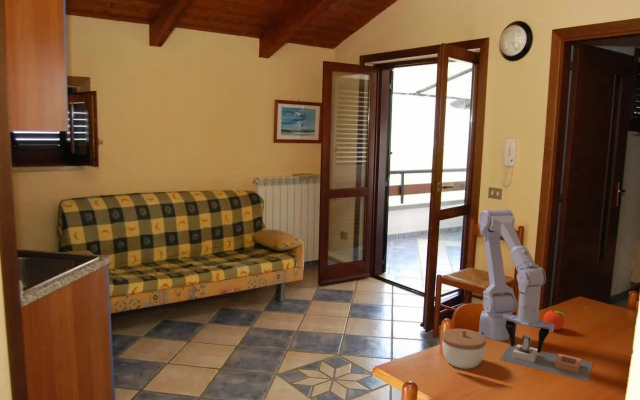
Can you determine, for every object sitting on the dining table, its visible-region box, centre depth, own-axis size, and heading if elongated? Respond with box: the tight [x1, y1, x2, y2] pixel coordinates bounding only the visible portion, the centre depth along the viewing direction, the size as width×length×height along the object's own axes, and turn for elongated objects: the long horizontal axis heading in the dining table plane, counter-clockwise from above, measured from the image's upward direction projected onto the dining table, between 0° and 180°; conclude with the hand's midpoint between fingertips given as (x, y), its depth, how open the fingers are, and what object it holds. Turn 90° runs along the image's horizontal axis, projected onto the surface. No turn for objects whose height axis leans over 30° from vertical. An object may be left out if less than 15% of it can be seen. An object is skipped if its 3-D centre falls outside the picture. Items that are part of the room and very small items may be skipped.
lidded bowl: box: [441, 328, 487, 372], centre depth 153 cm, size 13×13×11 cm
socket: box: [555, 353, 582, 373], centre depth 151 cm, size 6×6×2 cm
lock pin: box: [521, 334, 532, 354], centre depth 157 cm, size 2×2×6 cm
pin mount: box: [513, 343, 538, 363], centre depth 158 cm, size 6×6×2 cm
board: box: [499, 343, 594, 382], centre depth 155 cm, size 24×14×1 cm, turn 57°
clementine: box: [542, 309, 567, 331], centre depth 181 cm, size 8×7×7 cm
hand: (525, 348), depth 158 cm, fingers open, 7 cm apart
